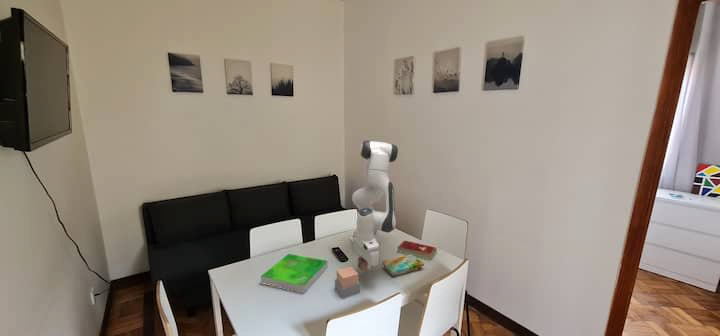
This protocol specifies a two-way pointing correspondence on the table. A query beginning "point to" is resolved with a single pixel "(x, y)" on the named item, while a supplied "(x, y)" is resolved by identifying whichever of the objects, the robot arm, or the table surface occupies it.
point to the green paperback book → (295, 273)
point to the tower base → (347, 289)
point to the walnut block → (362, 264)
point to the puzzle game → (402, 265)
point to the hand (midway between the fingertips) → (364, 265)
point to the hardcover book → (416, 250)
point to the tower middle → (347, 277)
